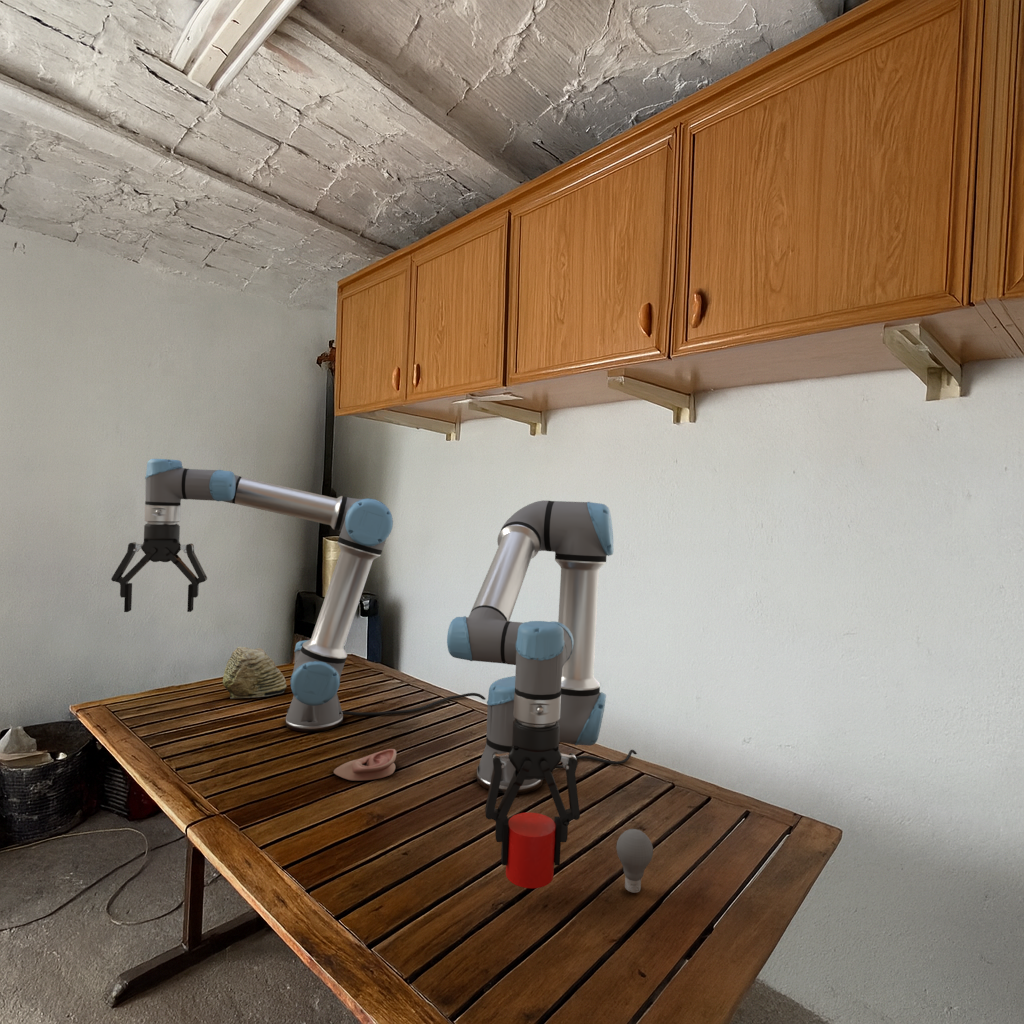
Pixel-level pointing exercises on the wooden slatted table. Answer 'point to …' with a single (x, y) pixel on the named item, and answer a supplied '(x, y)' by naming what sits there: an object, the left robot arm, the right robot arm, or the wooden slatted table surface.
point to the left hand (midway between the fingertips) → (159, 611)
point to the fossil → (252, 674)
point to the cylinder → (530, 850)
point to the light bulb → (634, 857)
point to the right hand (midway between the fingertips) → (530, 860)
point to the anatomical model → (369, 766)
